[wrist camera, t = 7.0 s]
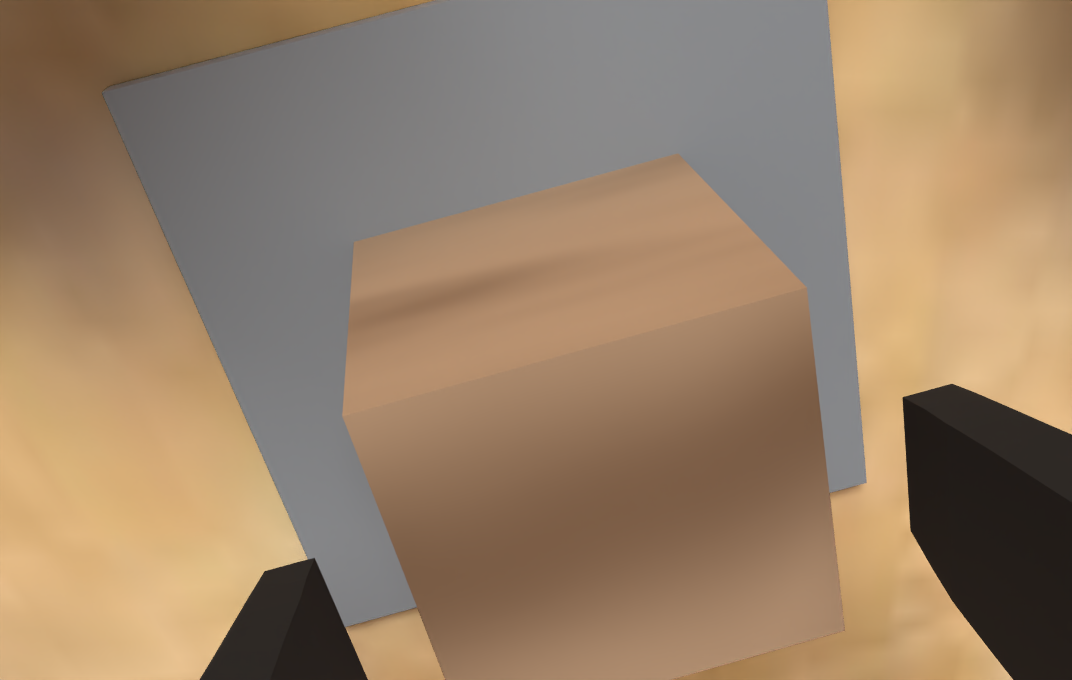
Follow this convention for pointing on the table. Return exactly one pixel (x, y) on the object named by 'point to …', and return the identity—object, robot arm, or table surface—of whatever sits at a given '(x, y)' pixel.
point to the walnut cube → (595, 432)
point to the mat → (469, 193)
